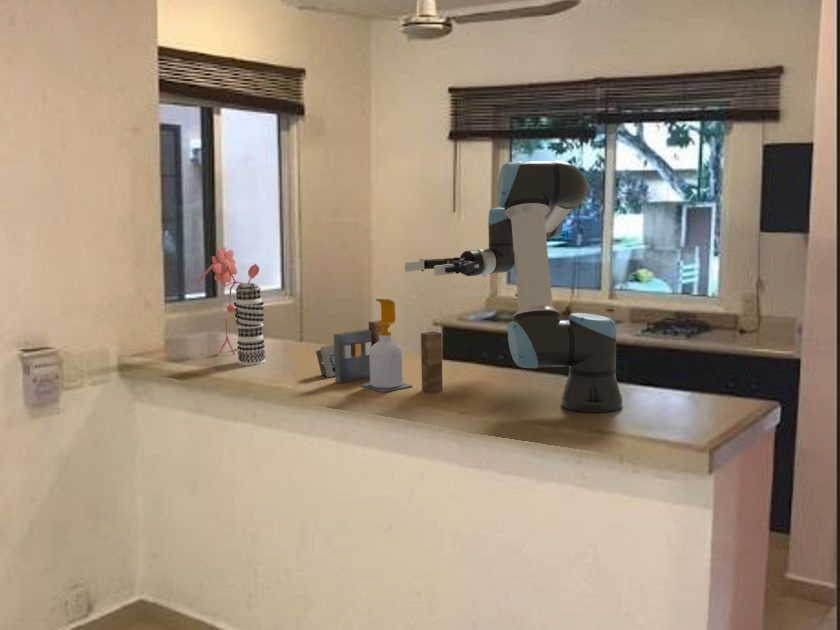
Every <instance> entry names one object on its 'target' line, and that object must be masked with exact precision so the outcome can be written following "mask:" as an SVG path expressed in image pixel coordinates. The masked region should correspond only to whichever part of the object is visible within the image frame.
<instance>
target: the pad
mask: <svg viewBox="0 0 840 630" xmlns="http://www.w3.org/2000/svg"><path fill="white" fill-rule="evenodd" d="M360 387H363V388H366V389H370V390H373V391H376V392H379V393H382V394H384V393H390V392H394V391H400V390H404V389H405V390H406V389H410V388H413V385H411V384H409V383H404V382H402V385H400V386H399V387H395V388H376V387H373V386H371V385H370V382H365V383H362V384H361V383H360Z"/></svg>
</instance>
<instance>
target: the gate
mask: <svg viewBox="0 0 840 630" xmlns="http://www.w3.org/2000/svg"><path fill="white" fill-rule="evenodd" d="M380 321H381V319H379V320H371V321H368V329H369V330H372V346H373V345H374V344H375V343H377V342H378V341H379V333H380V332H382V328H380V325H376V323H377V322H380ZM442 334H443V333H442V332H438V331H426V332H421V333H420V353H421V354H420V355H421V356H420V357H421V358H420V359H421V391H422V392H426V393H428V394H433V393H434V394H435V393H438V392H442V391H443V346H442V345H443V343H442V341H443V340H442V339H443V338H442V337H443V336H442Z"/></svg>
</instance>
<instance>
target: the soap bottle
mask: <svg viewBox="0 0 840 630" xmlns="http://www.w3.org/2000/svg"><path fill="white" fill-rule="evenodd" d="M375 301H377V302H379V303H380V310H381V311H380V314H381V316H380V317H381V318H380V320H381V321H380V322H377V323H376V325H380V328H382V332H380V333H379V341H378V342H377V343H375V344H374V345H373V346H372V347H371V348H370V351H369V359H370V378H369V383H370V385H371V386H373V387H376V388H395V387H399V386H400V385H402V383H403V352H402V350H403V349H402V348H401V346H400V345H399V344H398V343H396V342H394V341H393V340H392V332H391V331H389V329H390V327H391V325H393V324H395V323H396V303H395V301H393V300H392V299H389V298H375Z"/></svg>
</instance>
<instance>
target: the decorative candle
mask: <svg viewBox="0 0 840 630" xmlns="http://www.w3.org/2000/svg"><path fill="white" fill-rule="evenodd" d="M244 283H245V284H240V283H239V284H238V285H237V288H235V289H234V290H235V292H236V294H235V296H236V299H235V302H233V305H234V306H235V311H234V312H235V314H234V317H235V318H236V320H235V323H236V328H237V329H238V330H237V333H238V335H237V340H238V341H237V342H236V343H237V345H238V346H237V349H238V351H237V355H238V357H237V360H238V361H237V363H238V364H239V365H241V364H242V365H243V366H253V365H252V364H258V365H260V364H259V363H262V364H264V363H266V356H265V353H266V350H265V349H264V348H265V346H266V345H265V344H264V343H265V339H264V333H263V327H264V326H265V325H264V323H262V322H263V321H265V318H263V316H264V315H265V314H264V313H263V312H262V311H263V310H264V309H265V308H264V307H263V305H264V304H265V303H264V301H262V297H261V295H262V293H261V289H262V288H261V287H259V285H258V284H257V283H253V282H252V283H251V282H250V283H248V282H247V283H246V282H244ZM264 345H265V346H264ZM263 362H264V363H263Z"/></svg>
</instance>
